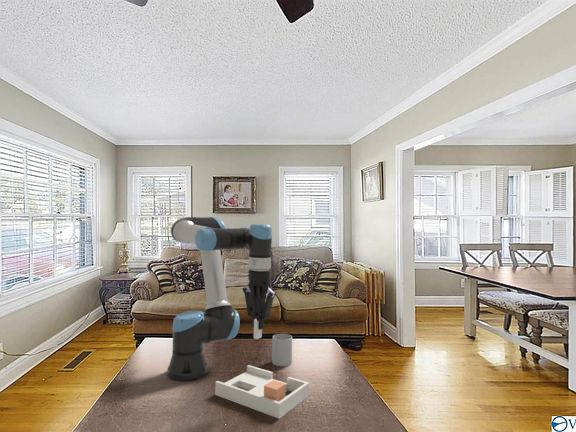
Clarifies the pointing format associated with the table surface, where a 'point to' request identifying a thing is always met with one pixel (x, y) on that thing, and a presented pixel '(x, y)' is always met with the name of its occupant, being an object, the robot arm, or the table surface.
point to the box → (262, 392)
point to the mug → (282, 350)
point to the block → (275, 390)
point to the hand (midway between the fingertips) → (257, 337)
